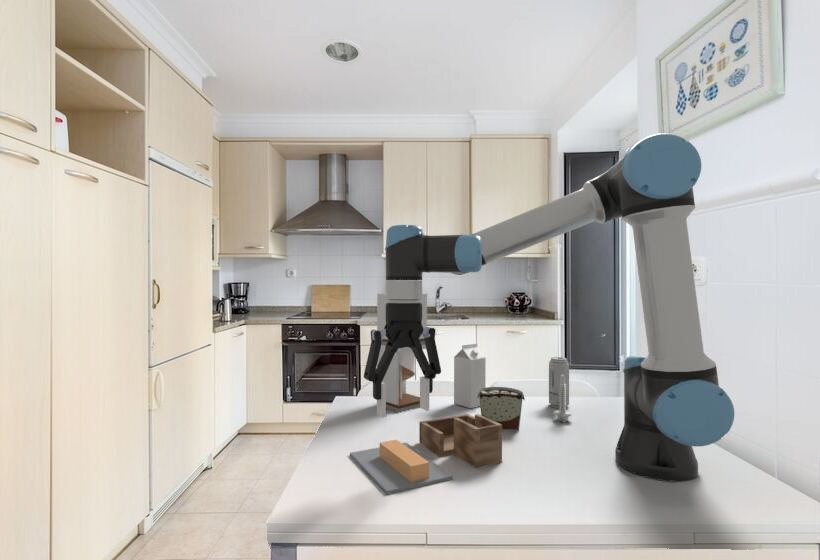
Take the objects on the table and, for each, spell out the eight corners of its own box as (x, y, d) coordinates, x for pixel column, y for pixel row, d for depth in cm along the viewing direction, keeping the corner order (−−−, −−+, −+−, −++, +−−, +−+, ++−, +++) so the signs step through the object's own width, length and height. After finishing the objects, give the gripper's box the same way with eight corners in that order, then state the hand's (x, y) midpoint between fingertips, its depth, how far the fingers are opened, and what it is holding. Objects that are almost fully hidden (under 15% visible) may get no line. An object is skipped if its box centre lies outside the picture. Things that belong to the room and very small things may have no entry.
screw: (568, 417, 124) (574, 423, 119) (551, 417, 124) (556, 423, 119) (568, 372, 124) (574, 375, 119) (551, 372, 124) (556, 375, 120)
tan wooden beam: (429, 477, 84) (429, 462, 84) (411, 482, 82) (411, 466, 82) (395, 453, 96) (395, 439, 96) (379, 456, 94) (379, 442, 94)
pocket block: (515, 459, 95) (515, 422, 95) (461, 471, 88) (461, 432, 88) (467, 433, 111) (467, 402, 111) (419, 442, 104) (419, 409, 104)
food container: (521, 423, 119) (521, 386, 119) (524, 431, 113) (524, 392, 113) (475, 421, 120) (475, 385, 120) (476, 429, 114) (477, 391, 114)
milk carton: (453, 404, 138) (453, 344, 138) (468, 400, 143) (468, 342, 143) (470, 409, 133) (471, 346, 133) (485, 404, 137) (485, 344, 138)
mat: (452, 478, 85) (452, 475, 85) (386, 494, 79) (386, 491, 79) (406, 445, 103) (406, 442, 103) (349, 455, 96) (350, 452, 96)
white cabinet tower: (399, 412, 129) (399, 294, 129) (376, 405, 136) (377, 293, 137) (426, 405, 136) (426, 293, 137) (404, 398, 144) (404, 293, 144)
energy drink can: (545, 404, 139) (545, 356, 139) (562, 403, 140) (562, 356, 140) (554, 409, 133) (554, 360, 133) (572, 408, 134) (572, 359, 134)
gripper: (440, 300, 97) (439, 401, 97) (346, 301, 87) (346, 414, 87) (459, 301, 90) (458, 409, 90) (360, 303, 80) (359, 425, 80)
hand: (403, 411), depth 89 cm, fingers open, 9 cm apart
